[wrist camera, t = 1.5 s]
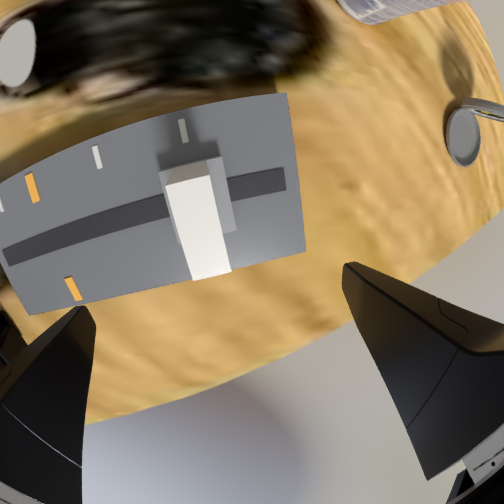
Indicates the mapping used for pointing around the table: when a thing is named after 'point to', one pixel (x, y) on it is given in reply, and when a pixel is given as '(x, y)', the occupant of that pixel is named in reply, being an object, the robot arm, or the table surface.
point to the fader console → (147, 203)
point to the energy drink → (386, 8)
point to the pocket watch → (469, 129)
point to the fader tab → (200, 213)
